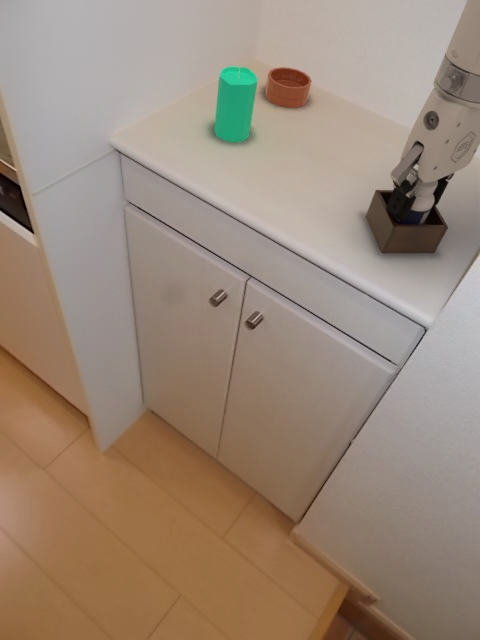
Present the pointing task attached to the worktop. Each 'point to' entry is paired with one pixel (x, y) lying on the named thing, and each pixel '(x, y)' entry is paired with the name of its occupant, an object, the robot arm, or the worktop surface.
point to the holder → (403, 228)
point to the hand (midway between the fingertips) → (411, 206)
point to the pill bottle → (419, 203)
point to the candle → (235, 103)
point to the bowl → (287, 87)
